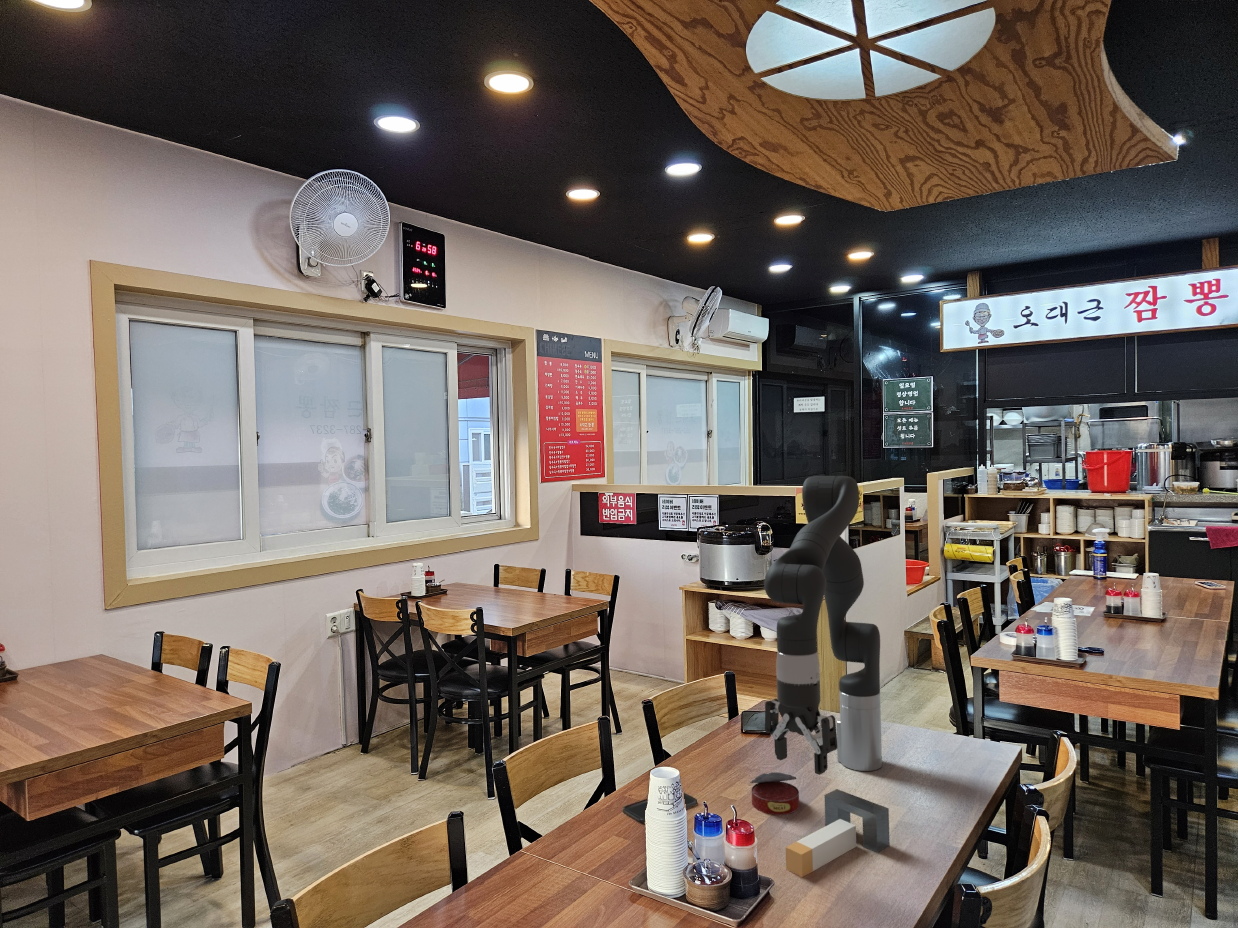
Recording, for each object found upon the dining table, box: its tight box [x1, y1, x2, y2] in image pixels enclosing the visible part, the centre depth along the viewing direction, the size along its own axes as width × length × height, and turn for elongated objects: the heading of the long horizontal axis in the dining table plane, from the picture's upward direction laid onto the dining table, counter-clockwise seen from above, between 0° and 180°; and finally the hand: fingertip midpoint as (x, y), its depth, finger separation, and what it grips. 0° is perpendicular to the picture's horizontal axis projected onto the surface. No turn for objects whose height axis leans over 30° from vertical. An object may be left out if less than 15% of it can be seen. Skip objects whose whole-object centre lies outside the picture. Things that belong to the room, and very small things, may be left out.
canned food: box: [749, 771, 800, 816], centre depth 166 cm, size 11×10×10 cm
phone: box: [622, 792, 698, 825], centre depth 166 cm, size 8×1×15 cm
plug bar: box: [785, 819, 857, 878], centre depth 144 cm, size 4×16×4 cm, turn 129°
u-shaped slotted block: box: [824, 788, 891, 853], centre depth 150 cm, size 12×4×7 cm, turn 39°
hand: (800, 765), depth 141 cm, fingers open, 8 cm apart
